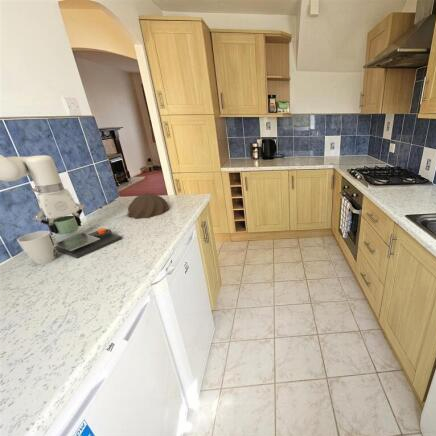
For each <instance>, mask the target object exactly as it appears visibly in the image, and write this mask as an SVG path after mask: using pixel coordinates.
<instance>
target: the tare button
mask: <svg viewBox="0 0 436 436" xmlns="http://www.w3.org/2000/svg"><path fill="white" fill-rule="evenodd" d="M106 229H107V228H105V227H102V228H99V229H97V230H96V231H97V232H98V234H104V233H106V232H107V231H106Z"/></svg>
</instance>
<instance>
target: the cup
mask: <svg viewBox="0 0 436 436" xmlns="http://www.w3.org/2000/svg"><path fill="white" fill-rule="evenodd" d="M17 243H18V244H19V246H20V247H21V249H22V250H23V252H24V253H25V254H26V255H27V256H28V257H29V258H30V260H32V261H33V262H34V263H36V264H37V265H43V264H44V265H45V264H48V263H50V262H52V261H54V260H55V259H56V258H57V254H56V253H57V250H56V248H55V246H56V245H54V244H55V242H54V239H53V236H52V234H51V231H50V230H39V231H34V232H29V233H27V234H25V235H22V236H20V237H19V238H17Z"/></svg>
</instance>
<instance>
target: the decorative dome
mask: <svg viewBox="0 0 436 436" xmlns="http://www.w3.org/2000/svg"><path fill="white" fill-rule="evenodd" d="M169 210H170V207H169V204H168V202H167V200H166V199H164V198H163V197H162V196H160V195H158V194H155V193H151V192H150V193H149V192H147V193H142V194H140V195H137V196H136V197H134V198H133V199H132V201H131V202H130V204H129V205H128V206H127V211H128V218H133V219H134V220H138V219H150V218H152V217H156V216H162V215H163V214H164V213H166V212H168V211H169Z"/></svg>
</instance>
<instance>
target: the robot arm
mask: <svg viewBox="0 0 436 436" xmlns="http://www.w3.org/2000/svg"><path fill="white" fill-rule="evenodd" d="M27 176H31V179H32V181H33V184H34V188H31V191H32V193H36V198H37V203H38V207H39V211H38V212H37V213H36V214H35V216H34V217H33V218H32V219H33V220H35V221H37V222H39V223H41V224H43V225H47V227H48V229H49V232H50V233H53V234H55V235H59V234H58V230H57V228H56V226H55V225H54V224H53V221H54V219H56V218H59V217H63V216H75V219H76V221H77V224H78V226H79V227H82V221H81V218H80V217H81V215H82V213H83V210H84V209H85V205H84V204H81V203H77V202H76V201H75V199H74V198H73V196H72V194H71V192H70V191H69V190H68V188H65V187H64V184H63V182H62V179H61V176H60V175H59V171H58V169H57V165H56V163H55V161H54V158H53V157H52V156H50V155H45V154H44V155H43V154H42V155H32V156H6V157H5V156H4V155H2V154H0V181H2V182H15V181H18V180H20V179H22V178H24V177H27ZM42 217H44V218H46V219H43V218H42Z"/></svg>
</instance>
